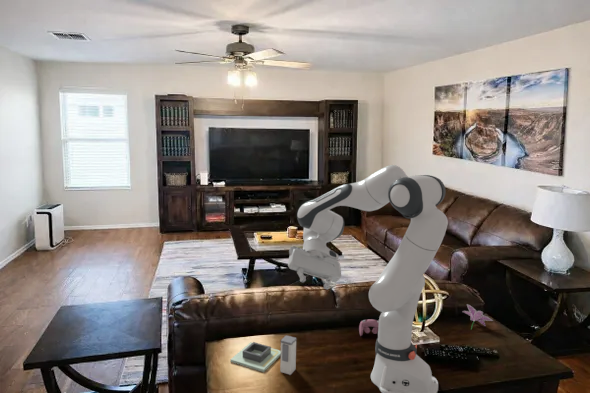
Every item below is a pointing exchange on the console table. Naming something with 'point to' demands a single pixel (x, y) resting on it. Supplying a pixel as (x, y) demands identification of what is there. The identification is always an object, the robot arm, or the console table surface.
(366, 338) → the console table surface
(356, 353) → the console table surface
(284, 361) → the plug
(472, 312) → the lily
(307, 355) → the console table surface
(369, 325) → the video game controller
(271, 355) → the board
